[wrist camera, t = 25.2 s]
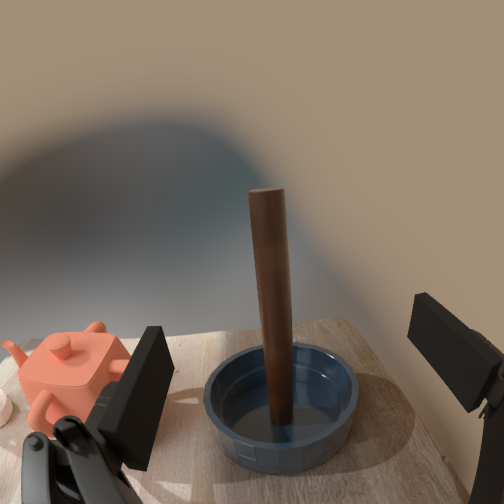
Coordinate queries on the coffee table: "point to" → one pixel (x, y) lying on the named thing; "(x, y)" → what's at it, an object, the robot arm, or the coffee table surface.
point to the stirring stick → (274, 297)
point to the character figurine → (5, 408)
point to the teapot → (68, 373)
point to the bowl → (304, 410)
